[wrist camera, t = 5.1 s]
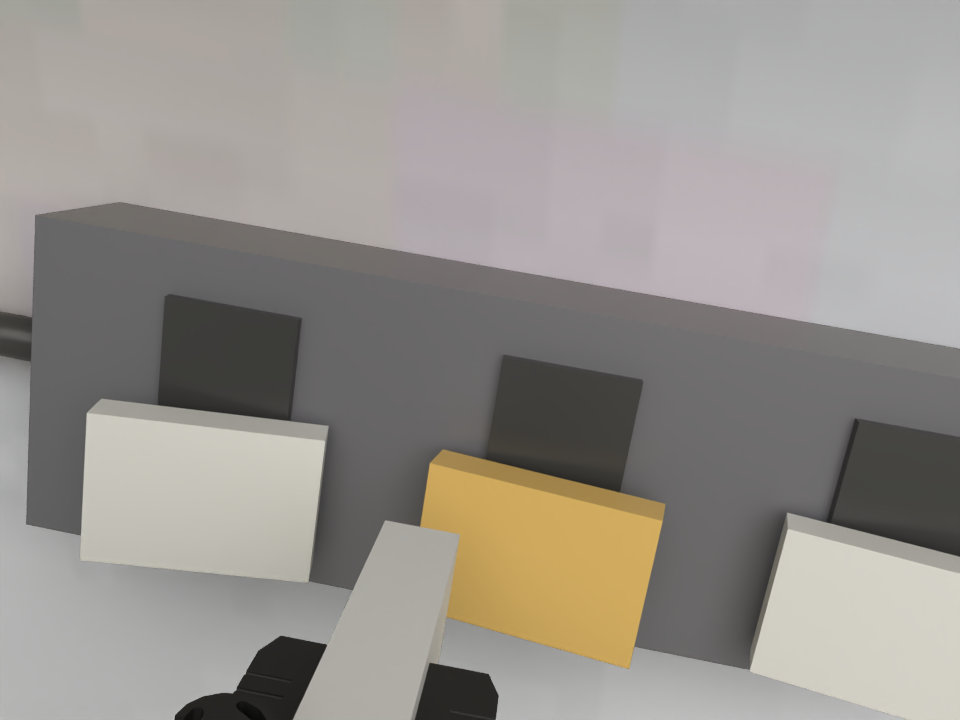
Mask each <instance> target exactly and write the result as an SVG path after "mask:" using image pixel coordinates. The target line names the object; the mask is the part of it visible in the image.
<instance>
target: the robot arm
mask: <svg viewBox="0 0 960 720" xmlns="http://www.w3.org/2000/svg"><path fill="white" fill-rule="evenodd" d="M459 538H460V534H455V533H450V532H445V531H439V530H434V529H429V528H424V527H418V526H413V525H408V524H402V523H397V522H392V521H386V520H385V522H384V524H383V526H382V528H381V531H380V533H379V535H378V537H377V539H376V541H375V544H374V546H373V548H372V550H371V552H370V554H369V557H368V559H367V561H366V563H365V565H364V567H363V569H362V572H361V574H360V576H359V578H358V580H357V582H356V585H355V587H354V589H353V591H352V593H351V595H350V598H349V600H348V602H347V604H346V606H345V608H344V610H343V613H342V615H341V617H340V619H339V621H338V623H337V626H336V628H335V630H334V632H333V634H332V636H331V639H330V641H329V643H328V645H325V644H320V643H315V642H310V641H305V640H300V639H295V638H290V637H285V636H280V637H278V638H277V639H275V640H274V641H272V642H271V643H269V644H268V645H266V646H265V647H263V648H262V649H260V650H259V651H258V652H257V654H256V656H255V658H254V659H253V661H252V663H251V664H250V666H249V668H248V669H247V672H246V675H244V676H243V678H242V680H241V681H240V683H239V685H238V686H237V690H236V691H235V692H234V693H233V694H231V693H220V694H214V695H209V696H203V697H201V698H199V699H197V700H195V701H193V702H190V703H188V704H186V705H185V706H184V707H183V708H182V709H181V710H180V711H179V712H178V713H177V714H176V715H175V720H496V712H497V704H498V693H497V691H496V689H495V687H494V685H493V683H492V681H491V678H490V676H489V674H485V673H480V672H475V671H470V670H465V669H460V668H454V667H449V666H444V665H439V664H438V662H439V658H440V653H441V647H442V641H443V635H444V629H445V623H446V617H447V611H448V605H449V599H450V593H451V587H452V581H453V574H454V568H455V562H456V556H457V550H458V544H459Z"/></svg>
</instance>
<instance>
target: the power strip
mask: <svg viewBox="0 0 960 720" xmlns="http://www.w3.org/2000/svg"><path fill="white" fill-rule="evenodd" d="M0 356H5V357H10V358H15V359H21V360H26V361H31V381H30V415H29V449H28V482H27V516H26V524H27V525H32V526H37V527H42V528H47V529H52V530H57V531H62V532H67V533H72V534H77V535H81V525H82V504H83V482H84V461H85V440H86V418H87V412H88V411H89V410H90V409H91V408H92V407H93V406H94V405H95V404H96V403H97V402H98V401H99V400H101V399H109V400H117V401H125V402H134V403H142V404H150V405H159V406H167V407H175V408H184V409H192V410H201V411H209V412H217V413H226V414H234V415H242V416H251V417H259V418H267V419H276V420H284V421H292V422H301V423H309V424H317V425H326V426H329V429H328V437H327V445H326V453H325V462H324V470H323V478H322V487H321V495H320V503H319V511H318V520H317V528H316V536H315V545H314V553H313V561H312V567H311V572H310V577H309V581H311V582H316V583H321V584H326V585H331V586H336V587H341V588H346V589H351V590H353V589H354V587H355V585H356V582H357V580H358V578H359V576H360V574H361V572H362V569H363V567H364V565H365V563H366V561H367V559H368V557H369V554H370V552H371V550H372V548H373V546H374V544H375V541H376V539H377V537H378V535H379V533H380V531H381V528H382V526H383V524H384V522H385V520H386V521H392V522H397V523H402V524H408V525H413V526H418V527H420V525H421V518H422V512H423V505H424V498H425V492H426V485H427V479H428V472H429V466H430V462H431V461H432V460H433V459H434V458H435V457H436V456H437V455H438V454H439V453H440V452H441V451H442V450H443V449H444V450H448V451H452V452H456V453H460V454H464V455H468V456H472V457H476V458H480V459H484V460H489V461H493V462H497V463H501V464H505V465H509V466H513V467H517V468H521V469H525V470H529V471H533V472H538V473H542V474H546V475H550V476H554V477H558V478H562V479H566V480H570V481H574V482H578V483H582V484H586V485H591V486H595V487H599V488H603V489H607V490H611V491H615V492H619V493H623V494H627V495H631V496H635V497H640V498H644V499H648V500H652V501H656V502H660V503H664V504H665V510H664V517H663V522H662V527H661V531H660V535H659V540H658V544H657V549H656V553H655V557H654V562H653V566H652V570H651V575H650V579H649V584H648V588H647V592H646V597H645V601H644V605H643V610H642V614H641V619H640V623H639V627H638V632H637V636H636V640H635V645H634V647H639V648H644V649H649V650H654V651H659V652H664V653H669V654H674V655H679V656H684V657H689V658H694V659H699V660H704V661H709V662H713V663H718V664H723V665H728V666H733V667H738V668H743V669H748V670H750V649H751V646H752V642H753V638H754V634H755V631H756V627H757V623H758V619H759V616H760V612H761V608H762V604H763V601H764V597H765V593H766V589H767V586H768V582H769V578H770V574H771V571H772V567H773V563H774V559H775V556H776V552H777V548H778V544H779V541H780V537H781V533H782V529H783V526H784V522H785V518H786V514H787V513H791V514H795V515H799V516H803V517H807V518H811V519H815V520H818V521H822V522H826V523H830V524H834V525H838V526H842V527H846V528H850V529H854V530H857V531H861V532H865V533H869V534H873V535H877V536H881V537H885V538H889V539H893V540H897V541H900V542H904V543H908V544H912V545H916V546H920V547H924V548H928V549H932V550H936V551H939V552H943V553H947V554H951V555H955V556H959V557H960V349H957V348H951V347H945V346H940V345H934V344H928V343H922V342H917V341H911V340H905V339H900V338H894V337H888V336H882V335H877V334H871V333H865V332H859V331H854V330H848V329H842V328H837V327H831V326H825V325H819V324H814V323H808V322H802V321H796V320H791V319H785V318H779V317H774V316H768V315H762V314H756V313H751V312H745V311H739V310H733V309H728V308H722V307H716V306H710V305H705V304H699V303H693V302H688V301H682V300H676V299H670V298H665V297H659V296H653V295H647V294H642V293H636V292H630V291H625V290H619V289H613V288H607V287H602V286H596V285H590V284H584V283H579V282H573V281H567V280H562V279H556V278H550V277H544V276H539V275H533V274H527V273H521V272H516V271H510V270H504V269H498V268H493V267H487V266H481V265H476V264H470V263H464V262H458V261H453V260H447V259H441V258H435V257H430V256H424V255H418V254H413V253H407V252H401V251H395V250H390V249H384V248H378V247H372V246H367V245H361V244H355V243H350V242H344V241H338V240H332V239H327V238H321V237H315V236H309V235H304V234H298V233H292V232H286V231H281V230H275V229H269V228H264V227H258V226H252V225H246V224H241V223H235V222H229V221H223V220H218V219H212V218H206V217H201V216H195V215H189V214H183V213H178V212H172V211H166V210H160V209H155V208H149V207H143V206H137V205H132V204H126V203H120V202H119V203H112V204H105V205H99V206H92V207H86V208H79V209H72V210H66V211H59V212H53V213H46V214H39V215H35V247H34V280H33V314H32V317H26V316H21V315H16V314H10V313H5V312H0Z"/></svg>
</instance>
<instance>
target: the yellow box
mask: <svg viewBox="0 0 960 720" xmlns="http://www.w3.org/2000/svg"><path fill="white" fill-rule="evenodd" d="M664 510H665V504H664V503H660V502H656V501H652V500H648V499H644V498H640V497H635V496H631V495H627V494H623V493H619V492H615V491H611V490H607V489H603V488H599V487H595V486H591V485H586V484H582V483H578V482H574V481H570V480H566V479H562V478H558V477H554V476H550V475H546V474H542V473H538V472H533V471H529V470H525V469H521V468H517V467H513V466H509V465H505V464H501V463H497V462H493V461H489V460H484V459H480V458H476V457H472V456H468V455H464V454H460V453H456V452H452V451H448V450H444V449H443V450H442V451H441V452H440V453H439V454H438V455H437V456H436V457H435V458H434V459H433V460H432V461H431V462H430V466H429V472H428V479H427V485H426V492H425V498H424V505H423V512H422V518H421V525H420V527H424V528H429V529H434V530H439V531H445V532H450V533H455V534H460V538H459V544H458V550H457V556H456V562H455V568H454V574H453V581H452V587H451V593H450V599H449V605H448V611H447V617H448V618H452V619H455V620H459V621H462V622H466V623H469V624H473V625H476V626H480V627H483V628H487V629H490V630H494V631H497V632H501V633H504V634H508V635H511V636H515V637H518V638H522V639H525V640H529V641H532V642H536V643H539V644H543V645H546V646H550V647H553V648H557V649H560V650H564V651H567V652H571V653H574V654H578V655H581V656H585V657H588V658H592V659H595V660H599V661H603V662H606V663H610V664H613V665H617V666H620V667H624V668H627V669H629V667H630V662H631V658H632V654H633V649H634V645H635V640H636V636H637V632H638V627H639V623H640V619H641V614H642V610H643V605H644V601H645V597H646V592H647V588H648V584H649V579H650V575H651V570H652V566H653V562H654V557H655V553H656V549H657V544H658V540H659V535H660V531H661V527H662V522H663V517H664Z"/></svg>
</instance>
